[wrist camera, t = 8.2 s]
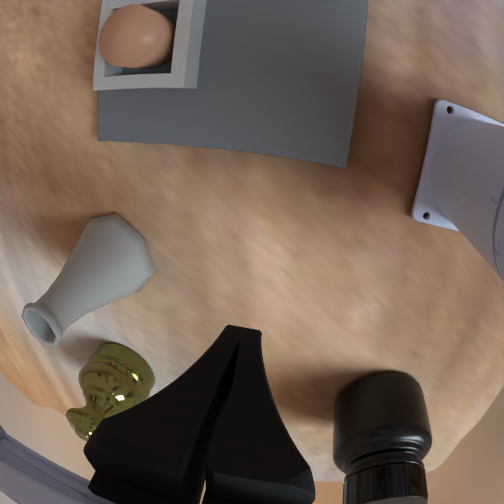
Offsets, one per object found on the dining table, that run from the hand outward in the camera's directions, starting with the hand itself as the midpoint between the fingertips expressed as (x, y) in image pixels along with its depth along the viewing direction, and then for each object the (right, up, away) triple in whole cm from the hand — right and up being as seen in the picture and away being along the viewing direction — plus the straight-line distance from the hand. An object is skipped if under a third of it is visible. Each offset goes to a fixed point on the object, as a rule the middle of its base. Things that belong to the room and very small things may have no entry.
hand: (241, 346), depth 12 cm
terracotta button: (-5, +16, +3) cm, 17 cm away
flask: (-11, +4, +12) cm, 17 cm away
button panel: (-1, +20, +2) cm, 20 cm away
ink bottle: (+13, -10, +15) cm, 22 cm away
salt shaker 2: (-13, -9, +19) cm, 25 cm away
